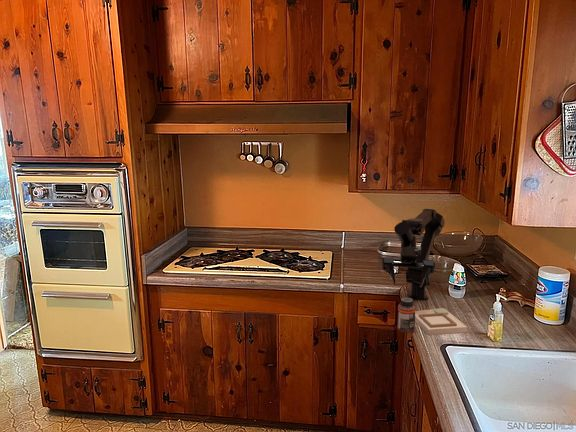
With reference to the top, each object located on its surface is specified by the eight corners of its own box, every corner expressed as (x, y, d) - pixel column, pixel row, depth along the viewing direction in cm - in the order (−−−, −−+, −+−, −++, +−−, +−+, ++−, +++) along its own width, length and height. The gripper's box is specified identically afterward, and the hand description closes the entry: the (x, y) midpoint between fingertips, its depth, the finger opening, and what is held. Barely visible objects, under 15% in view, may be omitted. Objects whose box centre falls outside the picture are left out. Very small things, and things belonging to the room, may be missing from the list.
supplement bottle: (401, 324, 155) (402, 294, 153) (417, 329, 151) (418, 298, 149) (394, 330, 151) (395, 299, 149) (410, 335, 147) (411, 304, 145)
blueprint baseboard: (409, 315, 163) (409, 308, 162) (444, 313, 164) (445, 306, 164) (428, 335, 147) (428, 326, 146) (466, 332, 149) (467, 324, 148)
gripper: (383, 236, 160) (381, 273, 152) (436, 238, 156) (436, 277, 147) (383, 251, 169) (381, 287, 161) (433, 254, 165) (433, 291, 156)
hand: (407, 285), depth 156 cm, fingers open, 9 cm apart
